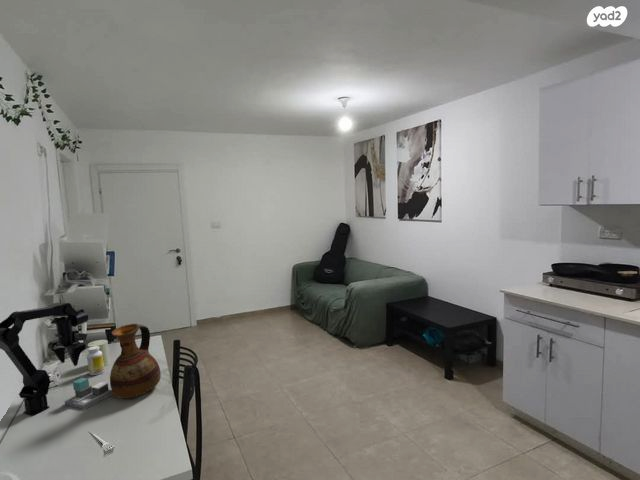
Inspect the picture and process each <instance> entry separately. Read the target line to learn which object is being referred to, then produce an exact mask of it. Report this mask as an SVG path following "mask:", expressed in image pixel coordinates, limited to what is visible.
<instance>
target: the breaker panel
mask: <svg viewBox="0 0 640 480" xmlns="http://www.w3.org/2000/svg"><path fill="white" fill-rule="evenodd" d="M113 394H114V393H113V391H112V389H109V390H108V391H106V392H105V393H103V394H101V395H99V396H98V395H93V393H91V394H89V395H87V396H85V397H83V398H78V397H76V395H74V396H71V397H69V398H68V399H65V400H64V405H65V406H70V407H74V408H78V409H82V410H86V409H88V408H89V407H91V406H93V405H95V404H97V403H98V402H100V401H102V400H104V399H105V398H108V397H109V396H111V395H113Z"/></svg>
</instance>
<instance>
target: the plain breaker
mask: <svg viewBox="0 0 640 480" xmlns="http://www.w3.org/2000/svg"><path fill="white" fill-rule="evenodd" d="M91 387H92V393H93V395H98V396H99V395H101V394H103V393H105V392H106V391H108V390H110V389H109V383H107V382H104V381H100V382H98V383H97V384H95V385H93V386H92V385H91Z"/></svg>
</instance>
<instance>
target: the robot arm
mask: <svg viewBox="0 0 640 480" xmlns="http://www.w3.org/2000/svg"><path fill="white" fill-rule="evenodd" d="M47 317H54V318H53V319H52V320H51V321H50V324H51V325H55V326H56V327H55V328H56V333H55V337H56V338H57V339H54V340H52V341H49V342H48V343H47V349H49V350H50V352H52V353H53V355H55V357H56V358H57V359H58V360H59V361H60V363H62V364H63V363H65V362H66V357H65V356H66V355H65V353H66V351H67V352H68V353H67V355H68V357H69V358H70V361H71V362H72V365H73V366H74V367H76V366H78V364H79V359H80V356H81V353H82V352H84V351H85V350H86V349H87V344H86V343H84V342H86V341H87V338H88V333H84V332H79V331H80V330H77V329H74V330H73V328H75V327H77V326H80V325H83V324H85V323H87V322H88V321H89V315H88V313H87V312H86V311H85V310H84V308H80V309H77V310H76V309H75V308H74V307H73V305H72V304H71V302H54V303H52V304H49V305H47V306H45V307H38V308H33V309H26V310H21V311H18V310H15V311H13V312H12V313H10V314H9V315H8V316H7V318H5V319H4V320H2V321H1V322H0V349H1V351H4V352H5V354H6V356H7V357H8V358H9V359H10V360H11V362H12V364H13V365H14V367H15V368H17V370H18V372H19V373H20V374H21V375H22V383H23V387H22V388H21V390H20V391H19V393H18V395H19V397H20V399H23V402H24V411H22V413H23V414H25V415H29V416H35V415H37V414H40V413H41V412H43V411H45V410H47V409H49V408H50V406H49V405H48V398H47V395H48V394H49V389H50V384H51V379H50V378H51V376H50V375H49V374H48V372H47V370H46V369H37V368H36V366H35V365H34V363H33V362H32V361H31V359H30V358H29V357H28V354H26V352H25V351H24V350H23V348H22V346H21V345H20V336H19V334H20V333H21V332H22V330H23V327H24V324H25V323H26V321H33V320H36V319H41V318H47ZM80 341H84V342H80ZM66 349H67V350H66ZM65 350H66V351H65Z"/></svg>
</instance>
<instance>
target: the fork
mask: <svg viewBox="0 0 640 480" xmlns="http://www.w3.org/2000/svg"><path fill="white" fill-rule="evenodd" d="M93 435H94V436H95V437H96V438H97V439H98V440H99V441H100V442H101V443H102V444H103V445H102V444H101V443H100V442H99V441H98V440H97V439H96V438H95V437H94V436H93V437H94V438H95V439H96V440H97V441H98V442H99V443H100V444H101V445H102V446H101V448H102V447H103V446H104V445H106V444H109V443H110V442H106V441H105V440H103V439H102V438H101V437H100V436H98V435H97V434H95V433H94V434H93ZM115 447H116V445H113V446H112V447H111V446H110V448H109V447H108V450H107V449H106V450H105V451H104V452H107V451H109V450H111V449H113V448H115Z"/></svg>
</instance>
